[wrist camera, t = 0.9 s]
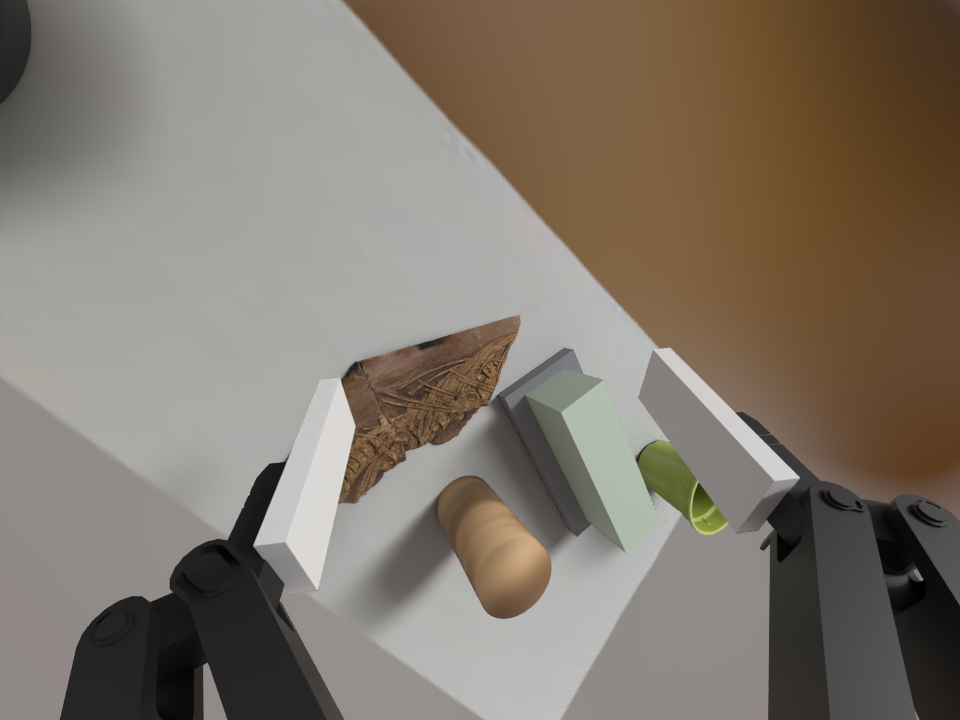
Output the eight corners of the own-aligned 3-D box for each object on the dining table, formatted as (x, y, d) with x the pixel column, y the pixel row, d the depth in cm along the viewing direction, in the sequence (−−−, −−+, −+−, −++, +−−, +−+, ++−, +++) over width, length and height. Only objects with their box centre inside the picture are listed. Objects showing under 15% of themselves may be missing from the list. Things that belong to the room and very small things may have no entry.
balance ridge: (497, 394, 36) (538, 416, 29) (564, 348, 38) (616, 358, 31) (568, 529, 42) (615, 573, 36) (621, 482, 45) (675, 515, 38)
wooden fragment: (315, 527, 31) (315, 534, 30) (234, 428, 28) (231, 433, 27) (542, 374, 38) (548, 375, 37) (501, 279, 35) (506, 278, 34)
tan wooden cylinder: (425, 501, 34) (465, 583, 24) (475, 464, 36) (532, 526, 26) (454, 542, 36) (502, 634, 26) (500, 505, 38) (562, 578, 28)
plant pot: (688, 441, 49) (758, 468, 41) (659, 504, 48) (724, 543, 40) (647, 416, 45) (716, 441, 37) (615, 484, 44) (677, 524, 37)
